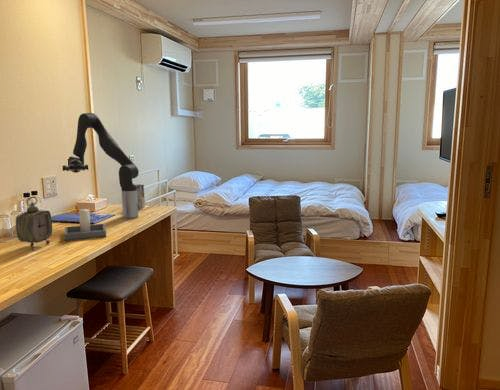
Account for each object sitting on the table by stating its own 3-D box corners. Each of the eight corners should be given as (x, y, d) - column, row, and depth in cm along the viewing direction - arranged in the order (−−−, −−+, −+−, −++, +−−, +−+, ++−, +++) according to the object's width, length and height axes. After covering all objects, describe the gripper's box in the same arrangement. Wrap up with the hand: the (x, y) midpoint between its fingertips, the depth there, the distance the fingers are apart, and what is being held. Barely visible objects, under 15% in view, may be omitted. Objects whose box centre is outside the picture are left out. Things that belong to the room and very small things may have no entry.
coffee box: (136, 206, 287) (134, 184, 284) (145, 207, 287) (144, 184, 284) (132, 209, 278) (130, 186, 275) (141, 210, 278) (140, 186, 275)
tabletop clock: (33, 252, 192) (28, 200, 188) (16, 250, 194) (11, 199, 189) (53, 243, 206) (49, 194, 201) (37, 241, 208) (33, 193, 203)
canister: (90, 231, 223) (89, 208, 221) (90, 234, 219) (89, 210, 216) (80, 232, 221) (78, 209, 219) (80, 235, 217) (78, 211, 214)
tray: (104, 229, 231) (104, 223, 230) (106, 236, 217) (105, 230, 217) (65, 233, 223) (65, 226, 223) (65, 241, 210) (64, 234, 209)
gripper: (62, 160, 252) (61, 163, 237) (87, 159, 257) (88, 162, 243) (63, 172, 253) (62, 176, 239) (88, 171, 259) (88, 174, 244)
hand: (75, 169), depth 241 cm, fingers open, 8 cm apart
